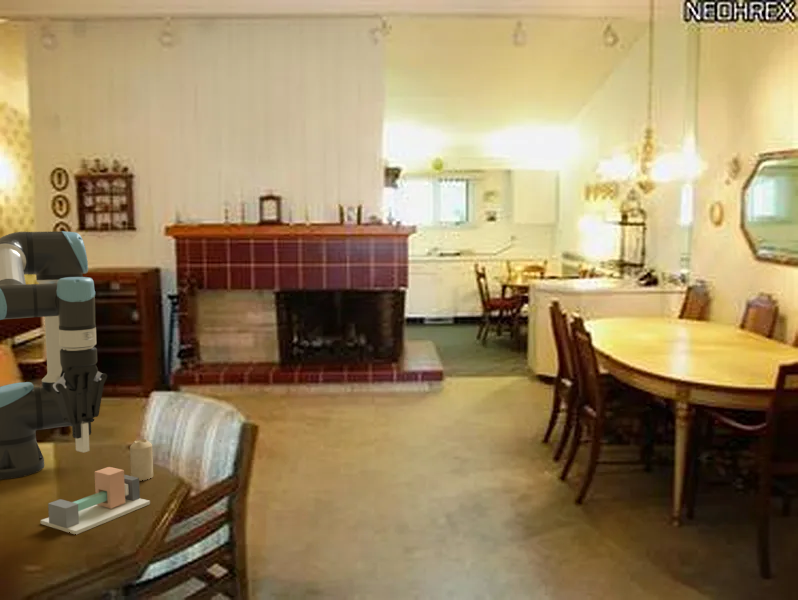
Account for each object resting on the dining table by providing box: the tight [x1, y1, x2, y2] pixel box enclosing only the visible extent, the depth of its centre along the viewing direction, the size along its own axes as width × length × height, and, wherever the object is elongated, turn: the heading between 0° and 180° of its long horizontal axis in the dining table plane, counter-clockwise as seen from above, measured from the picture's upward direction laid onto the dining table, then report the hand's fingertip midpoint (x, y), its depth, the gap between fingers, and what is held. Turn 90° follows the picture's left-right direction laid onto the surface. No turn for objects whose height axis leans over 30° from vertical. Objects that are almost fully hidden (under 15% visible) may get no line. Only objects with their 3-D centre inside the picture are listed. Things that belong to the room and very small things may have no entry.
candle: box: [129, 438, 154, 482], centre depth 190 cm, size 6×6×10 cm
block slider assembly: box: [40, 474, 151, 535], centre depth 165 cm, size 12×20×6 cm, turn 150°
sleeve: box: [94, 466, 125, 508], centre depth 168 cm, size 5×4×8 cm
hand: (82, 450), depth 162 cm, fingers closed
